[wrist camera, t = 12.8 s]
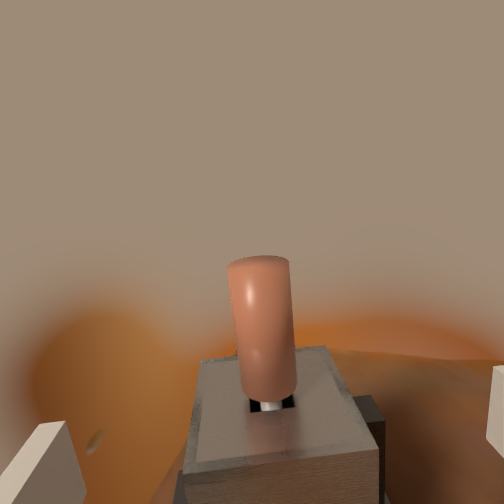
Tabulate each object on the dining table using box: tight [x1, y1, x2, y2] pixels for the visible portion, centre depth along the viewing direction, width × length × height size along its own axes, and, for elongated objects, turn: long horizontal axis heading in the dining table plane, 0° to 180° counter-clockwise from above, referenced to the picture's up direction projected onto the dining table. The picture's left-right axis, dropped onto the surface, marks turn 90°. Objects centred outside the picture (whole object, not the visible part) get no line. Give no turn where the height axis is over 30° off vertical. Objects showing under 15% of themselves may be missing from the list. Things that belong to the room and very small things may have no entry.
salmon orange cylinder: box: [227, 256, 297, 411], centre depth 22 cm, size 4×4×24 cm
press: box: [173, 345, 391, 504], centre depth 24 cm, size 20×20×17 cm
